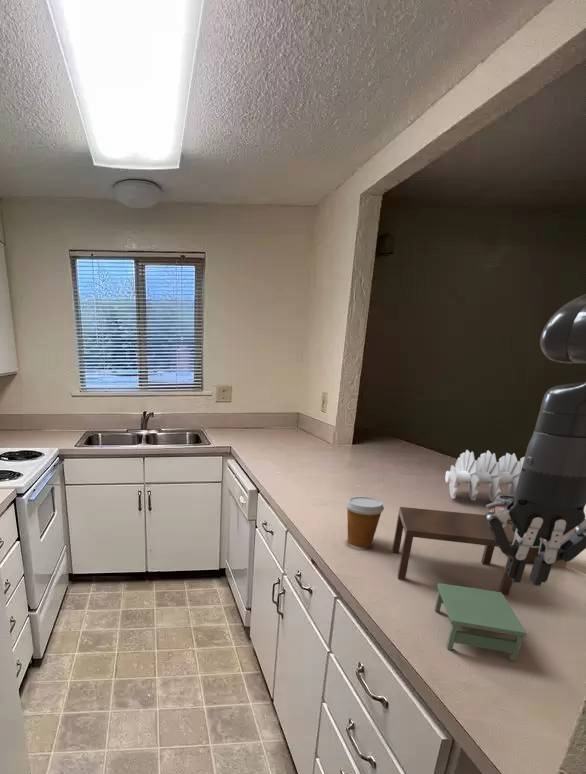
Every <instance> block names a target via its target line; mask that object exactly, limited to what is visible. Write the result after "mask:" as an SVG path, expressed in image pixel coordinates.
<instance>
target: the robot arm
mask: <svg viewBox="0 0 586 774" xmlns="http://www.w3.org/2000/svg"><path fill="white" fill-rule="evenodd" d="M539 346H540V350H541V352H542V353H543V355H544V356H545V357H546V358H547V359H548V360H550V361H552V362H555V363H561V364H586V293H585V294H583V295H580V296H578V297H576V298H574V299H572V300H570V301H569V302H566V303H565V304H564V305H562V306H561V307H560V308H558V309H557V310H556V311H555V312H554V313H553V315H551V317H550V318H549V319H548V320H547V322H546V323H545V325H544V327H543V329H542V331H541V334H540V338H539ZM538 411H539V412H538V415H537V419H536V423H535V427H534V430H533V433H532V435H531V438H530V440H529V441H528V445H527V447H526V451H525V455H524V457H525V458H524V462H523V465H522V469H521V473H520V476H519V480H518V484H517V488H516V491H515V496H514V499H513V501H512V502H511V503H510V504H509V505H508V507H507V510H504V511H501V512H498V513H495V514H494V513H493V512H490V511H489V512H486V513H485V514H484V515H485V518H486V520H487V523H488V525H489V527H490V530H491V532H492V534H493V537H494V539H495V541H496V544H497V546H498V547H497V548H499V550H500V551H501V553H502V555H503V554H504V555H505V556H506V555H510V559H509V562H508V566H507V569H506V571H507V574H508V576H509V577H510V578H511V580H512V581H513V582H512V583H515V584H520V583H521V581H522V578H523V575H524V571H525V568H526V564H527V563H526V560H525V558H526V556H527V553H528V551H529V548H530V547H532V545H533V543H534V541H535V538H540V546H539V551H538V554H539V557H535V561H534V563H532V564H533V565H532V567H531V571H530V574H529V581H530V583H531V584H532V585H533V586H539V587H540V586H542V584H543V583H545V584H546V582H547V581H548V579H549V576H550V573H551V569H552V566H553V564H555V563H556V562H560V561H564V562H570V561H572V560H574V559H575V558H576V557H577V556H578V555H579V554H581V553H583V551H584V550H586V513H585V511H584V509H585V506H586V380H584V381H578V382H568V383H561V384H556V385H553V386H552V387H550V388H548V389H547V390H546V391H545V393H544V395H543V397H542V401H541V405H540V409H539V410H538ZM509 518H511V520H512V522H513V523H514V525H515V527H516V531H515V533H514V540H513V543H512V544H510V543H509V541H508V539H507V536H506V534H505V532H504V529H503V528H504V527H506V526H507V520H508V519H509ZM573 529H574V532H573V533H572V534H570V535H569V536H568V537H567V538H566V539H564V540H563V537H564V536H565V535H566V534H568V533H569V532H570V531H572V530H573Z"/></svg>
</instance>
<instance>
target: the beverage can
mask: <svg viewBox="0 0 586 774" xmlns="http://www.w3.org/2000/svg"><path fill="white" fill-rule="evenodd" d="M513 499H514V496H513V495H509V494H499V495H498V496H497V498H496V501H495V502H493V503H492V502H490V503H488V504H486V505H485V508H486V509H489V512H493V513H494V514H495V513H498V512H501V511H504V510H507V507H508V505H509V504H510V503H511V502H512V501H513ZM507 525H508V526H509V527H510V528H511V529H512V527H513V522H512V520H511V518H509V519H508V520H507Z"/></svg>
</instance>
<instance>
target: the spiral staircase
mask: <svg viewBox="0 0 586 774" xmlns="http://www.w3.org/2000/svg"><path fill="white" fill-rule="evenodd" d="M524 458H525V456H523V457H521V458H520V460H518V459H517V456H516V453H514V452H513V453H512V454H510V453H509V452H506V453H505V455H502V456H501V457H500V458H498V461H497V456H496V453H495V452H493V453H492V452H491V451H490V450H489V449H488V450H486V452H483V453H480V456H479V457H478V458H477V459H475V454H474V451H471V452H470V451H469V449H465V452H462V453H460V454H459V457H457V459H456V462H455V465H454V464H451V466H450V470H446V471H445V474H444V475H445V476H444V481H445V483H449V485H448V486H449V487H448V488H449V495H450V496H449V497H450V498H451V500H454V499H456V496H457V492H458V487H459V486H460V484H467V485H468V496H469V499H470V501H476V498H477V495H478V493H479V490H478V489H479V488H478V487H480V484H488V488H487V490H488V491H487V492H488V499H489V501H491V502H490V503H493V502H495V501H496V498H497V496H498V495H500V494H501V491H502V490H501V486H502V485H508V489H507V492H508V495H513V496H515V491H516V488H517V484H518V480H519V476H520V473H521V469H522V465H523V462H524Z"/></svg>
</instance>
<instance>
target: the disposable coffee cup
mask: <svg viewBox="0 0 586 774" xmlns="http://www.w3.org/2000/svg"><path fill="white" fill-rule="evenodd" d="M345 506H346V510H347V542H348V543H349V544H350V545H352V546H356V547H362V548H364V547H365V548H366V547H370V546H372V544H373V541H374V537H375V535H376V531H377V528H378V526H379V525H378V524H379V521H380V517H381V514H382V513H383V511H384V510H385V507H384V505H383V502H382V501H381V500H380V499H377V498H374V497H370V496H353V497H350V498H348V500H347V502H346V503H345Z"/></svg>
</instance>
